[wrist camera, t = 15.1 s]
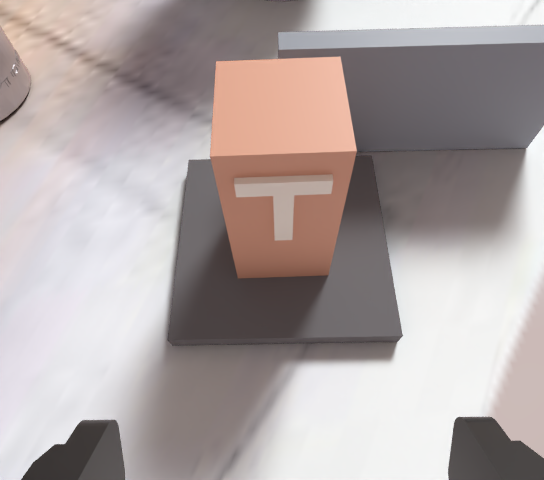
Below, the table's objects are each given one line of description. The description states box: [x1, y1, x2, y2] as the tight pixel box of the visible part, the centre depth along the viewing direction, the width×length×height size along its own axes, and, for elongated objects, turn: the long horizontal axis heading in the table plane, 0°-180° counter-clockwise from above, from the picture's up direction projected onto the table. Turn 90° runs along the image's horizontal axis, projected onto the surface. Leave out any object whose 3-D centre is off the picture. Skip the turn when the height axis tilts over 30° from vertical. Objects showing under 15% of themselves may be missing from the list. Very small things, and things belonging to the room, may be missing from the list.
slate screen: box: [278, 25, 544, 152], centre depth 25 cm, size 17×2×8 cm, turn 91°
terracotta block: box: [210, 57, 357, 279], centre depth 19 cm, size 5×5×10 cm
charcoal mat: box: [168, 156, 403, 345], centre depth 24 cm, size 12×12×1 cm
